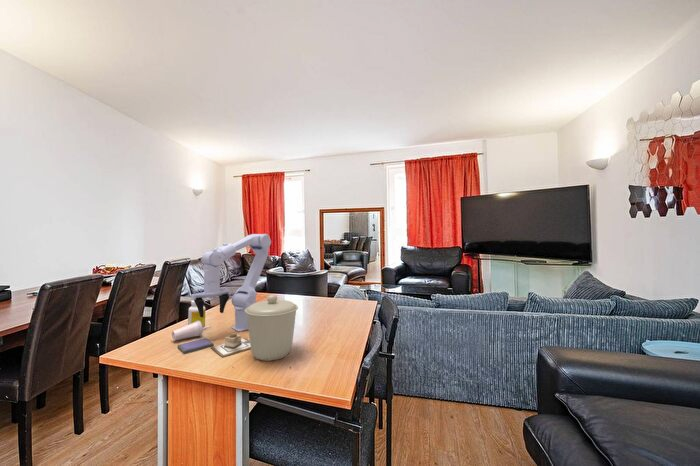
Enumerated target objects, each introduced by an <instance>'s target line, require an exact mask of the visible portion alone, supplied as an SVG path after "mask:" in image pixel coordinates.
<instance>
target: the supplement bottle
mask: <svg viewBox="0 0 700 466" xmlns="http://www.w3.org/2000/svg"><path fill="white" fill-rule="evenodd" d="M190 305H191V306H190V307H188V312H187V313H188V314H187V315H188V316H187V325H189V324H192V323H194V322H195V321H200V322H201V324H202V328H204V327H206V307H205V305H204V307H203V314H204V315H203V317H200V314H199V310H198V308H197V305H196V303H195V302H194V300H191V301H190Z"/></svg>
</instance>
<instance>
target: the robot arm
mask: <svg viewBox="0 0 700 466" xmlns="http://www.w3.org/2000/svg"><path fill="white" fill-rule="evenodd" d="M271 244H272V240H271V238H270V235H269V234H267V233H251V234H248V235H246V236H245V237H243V238H241V239H240V240H238V241H236V242H234V243H227V242H225V243H223V244H222V245H221V246H220V247H215V248H213V250H211V251H206V252H204V253H203V255H202V257H201V258H200V262H201V264H202V265H203V291H202V292H198V293H197V292H196V293H192V294H191V296H190V298H191V301H193V300H194V302H195V303H196V305H197V308H198V310H199V314H200V317H203V315H204V314H203V307H204V306H205V305H204V304H205V300H204V298H205V299H206V298H212V297H218V299H219V313H220V314H224V311H225V308H226V305H227V303H228V300H229V299H230V295H231V294H232V289H230V288H227V289H220V288H221V281H220V280H221V265H222V263H223V262H224V261H226V260H228V259H229V258H232V257H234V256H235V255H236V254H237V251H240V250H241V249H244V248H247V247H248V246H249V247H250V249H251V250H252V252H253V253H254V254H255V255H254V258H253V260H252V262H251V265H250V267H249V269H248V272H247V275H246V277H245V279H244V282H243V284H242V285H241V286H240V287H239V288H237V290H236V292H235V293H234V294H233V295H232V297H231V301H230V302H231V304H232V306H233V307H234V325H232V326H231V328H232V329H233V330H235V331H236V332H237V333H238V332H239V333H240V332H242V331H244V332H245V331H247V330H248V321H247V314H246V313H245V309H246V308H247V307H249V306H250V305H252V304H254V303H257V301H256V300H257V295H258V293H257V291H256V286H257V283H258V281H259V279H260V277H261V274H262V271H263V269H264V267H265V264H266V262H267V259H268V257H269V251H270V249H269V248H270V246H271ZM231 328H230V329H231ZM248 331H249V330H248Z"/></svg>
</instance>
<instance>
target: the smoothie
mask: <svg viewBox="0 0 700 466" xmlns="http://www.w3.org/2000/svg"><path fill="white" fill-rule="evenodd" d="M211 327H212V326H211V325H207V326H205V327H204V328H202V324H201V322H200V321H195V322H194V323H192V324H189V325H188V324H187V325H185V326H182V327H179V328H177V329H174V330H172V331H171V337H172V340H173V341H179V340H184V339H188V338H189V339H190V338H193V337H194V338H195V337H201V336H203V333H204V332H203V331H204V330H205V329H208V328H211Z"/></svg>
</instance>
